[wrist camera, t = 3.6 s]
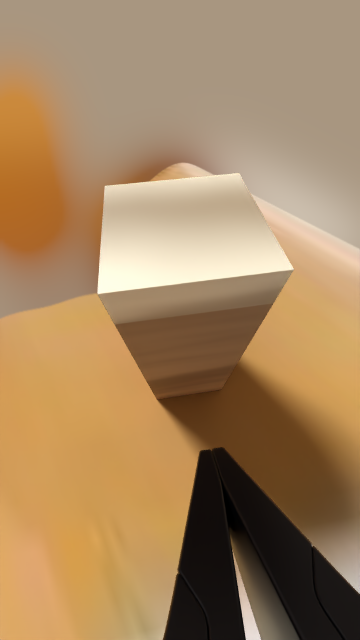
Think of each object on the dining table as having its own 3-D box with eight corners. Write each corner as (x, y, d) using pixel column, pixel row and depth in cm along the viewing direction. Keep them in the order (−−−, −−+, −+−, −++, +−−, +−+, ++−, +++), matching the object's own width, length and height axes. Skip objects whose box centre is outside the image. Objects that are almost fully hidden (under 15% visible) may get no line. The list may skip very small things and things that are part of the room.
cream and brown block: (221, 389, 17) (293, 269, 6) (156, 399, 16) (97, 294, 5) (207, 333, 19) (238, 173, 8) (152, 340, 19) (104, 186, 8)
